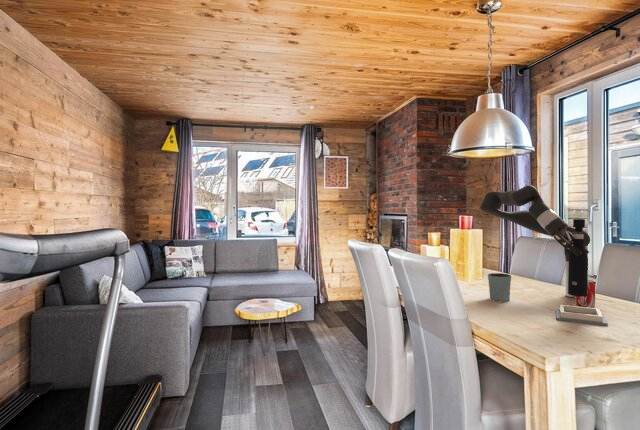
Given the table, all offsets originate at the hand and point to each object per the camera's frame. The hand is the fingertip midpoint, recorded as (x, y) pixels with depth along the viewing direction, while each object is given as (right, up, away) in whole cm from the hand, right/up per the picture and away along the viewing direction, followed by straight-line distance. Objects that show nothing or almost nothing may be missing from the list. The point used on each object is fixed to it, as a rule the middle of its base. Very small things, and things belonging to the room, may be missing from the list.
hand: (583, 254), depth 152 cm
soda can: (+13, -25, +17) cm, 33 cm away
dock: (0, -25, +2) cm, 25 cm away
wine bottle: (-1, -16, +2) cm, 17 cm away
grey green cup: (-18, -25, +33) cm, 45 cm away
